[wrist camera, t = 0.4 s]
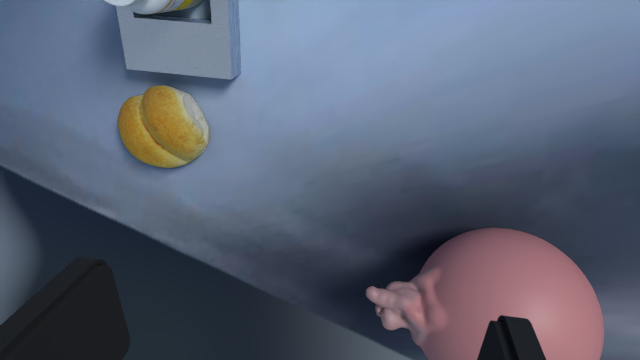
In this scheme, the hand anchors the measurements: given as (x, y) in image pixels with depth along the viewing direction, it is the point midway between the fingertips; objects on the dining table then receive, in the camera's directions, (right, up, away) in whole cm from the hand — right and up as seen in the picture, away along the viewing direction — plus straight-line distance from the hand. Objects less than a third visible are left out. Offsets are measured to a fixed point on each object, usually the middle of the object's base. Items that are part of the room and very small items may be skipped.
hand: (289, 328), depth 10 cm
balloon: (+16, -4, +33) cm, 37 cm away
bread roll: (-15, +10, +31) cm, 36 cm away
